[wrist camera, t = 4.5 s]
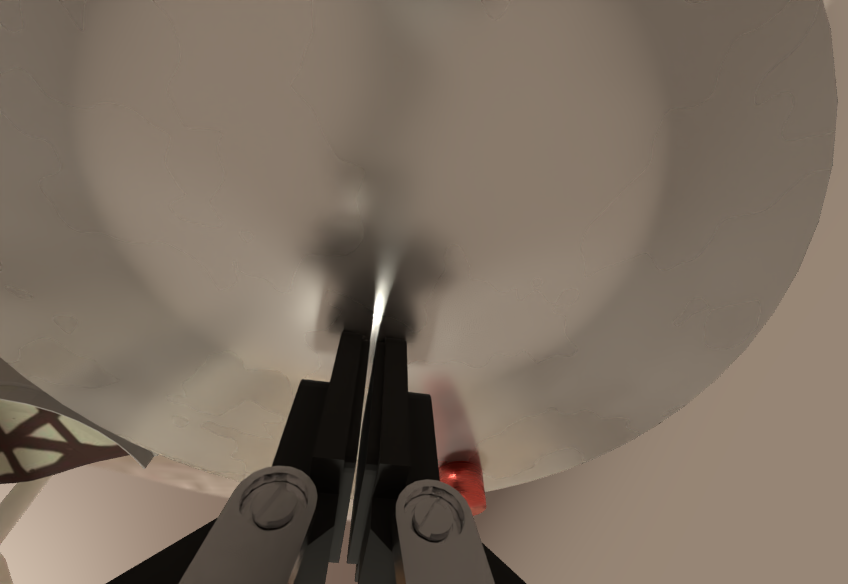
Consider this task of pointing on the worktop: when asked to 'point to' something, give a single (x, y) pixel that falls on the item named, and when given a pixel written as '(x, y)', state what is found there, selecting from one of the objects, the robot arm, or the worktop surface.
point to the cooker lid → (403, 211)
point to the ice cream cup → (50, 434)
